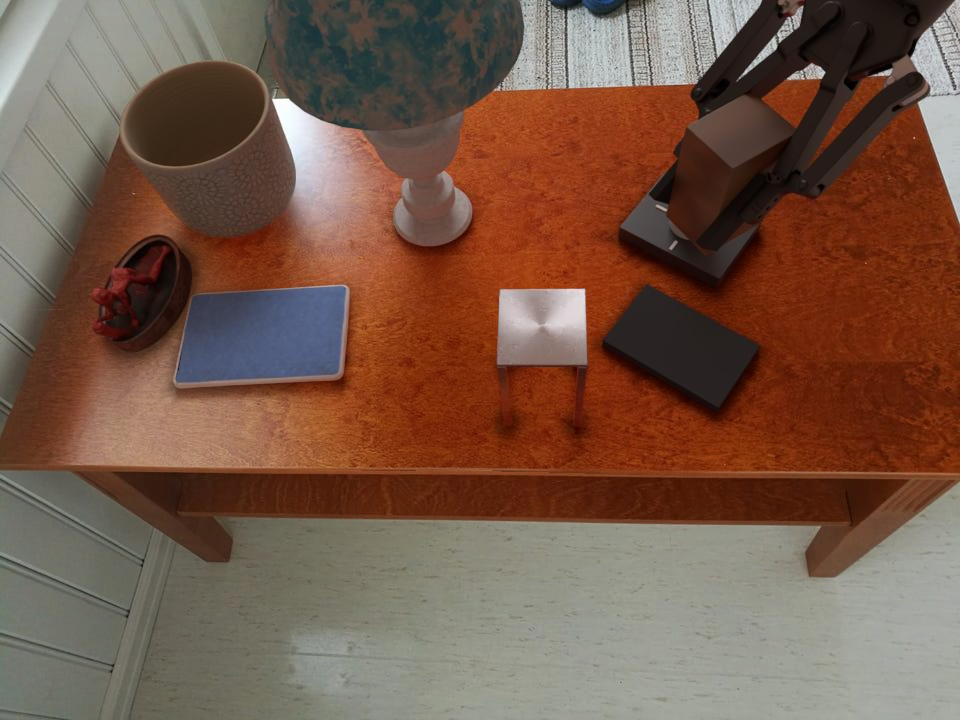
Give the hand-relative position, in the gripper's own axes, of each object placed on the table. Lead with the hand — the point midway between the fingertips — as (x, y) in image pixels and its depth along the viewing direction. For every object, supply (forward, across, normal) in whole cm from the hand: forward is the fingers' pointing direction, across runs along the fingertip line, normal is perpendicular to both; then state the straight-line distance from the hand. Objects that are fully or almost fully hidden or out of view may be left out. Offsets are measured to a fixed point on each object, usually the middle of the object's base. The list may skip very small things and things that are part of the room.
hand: (682, 222), depth 58 cm
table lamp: (+24, +31, -11) cm, 41 cm away
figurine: (+48, +40, +13) cm, 64 cm away
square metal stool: (+25, +4, -10) cm, 27 cm away
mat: (+14, 0, -20) cm, 25 cm away
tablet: (+41, +27, +6) cm, 50 cm away
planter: (+37, +48, +2) cm, 60 cm away
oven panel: (+7, +11, -28) cm, 31 cm away
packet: (-1, 0, -4) cm, 4 cm away
